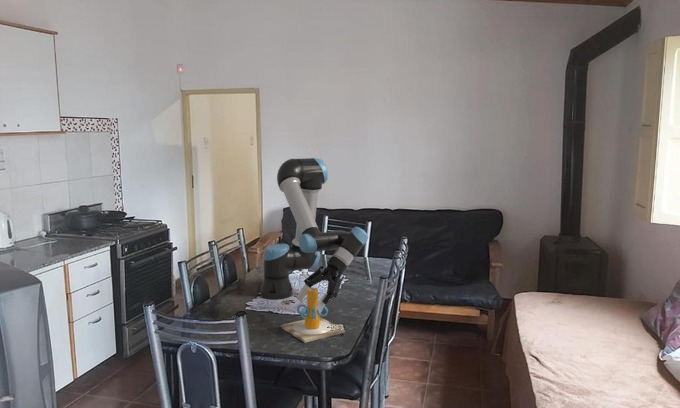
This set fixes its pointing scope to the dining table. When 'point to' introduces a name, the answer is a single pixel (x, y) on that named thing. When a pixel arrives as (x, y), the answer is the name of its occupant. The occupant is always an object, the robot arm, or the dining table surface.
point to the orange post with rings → (311, 310)
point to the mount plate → (311, 330)
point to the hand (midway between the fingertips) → (307, 304)
